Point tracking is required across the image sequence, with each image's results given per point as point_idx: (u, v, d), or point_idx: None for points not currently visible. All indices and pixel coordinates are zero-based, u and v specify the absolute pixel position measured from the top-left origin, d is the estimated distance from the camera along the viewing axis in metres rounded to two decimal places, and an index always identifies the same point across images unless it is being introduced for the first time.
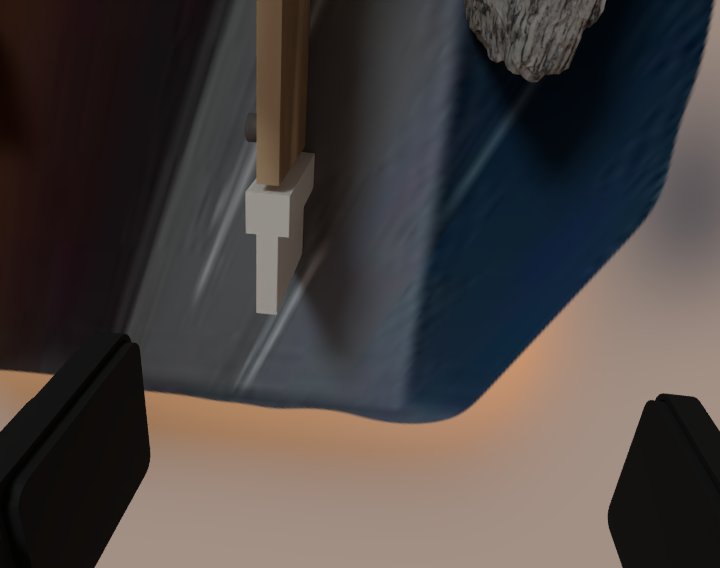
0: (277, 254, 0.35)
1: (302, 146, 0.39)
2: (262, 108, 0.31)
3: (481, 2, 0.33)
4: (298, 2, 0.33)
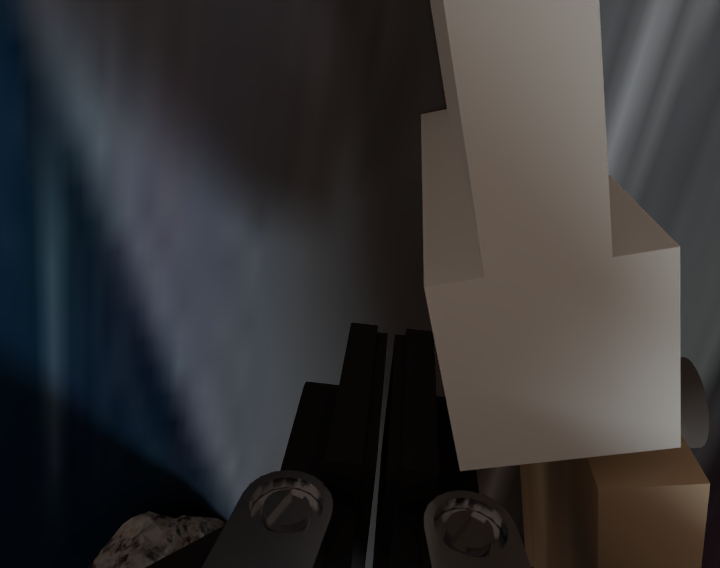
0: (469, 164, 0.06)
1: None
2: None
3: None
4: None
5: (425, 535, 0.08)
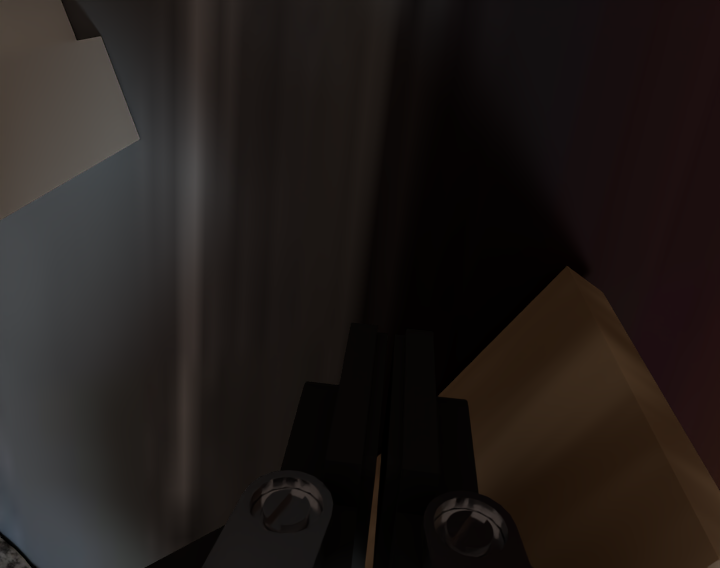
0: None
1: (569, 295, 0.14)
2: None
3: None
4: None
5: (425, 535, 0.08)
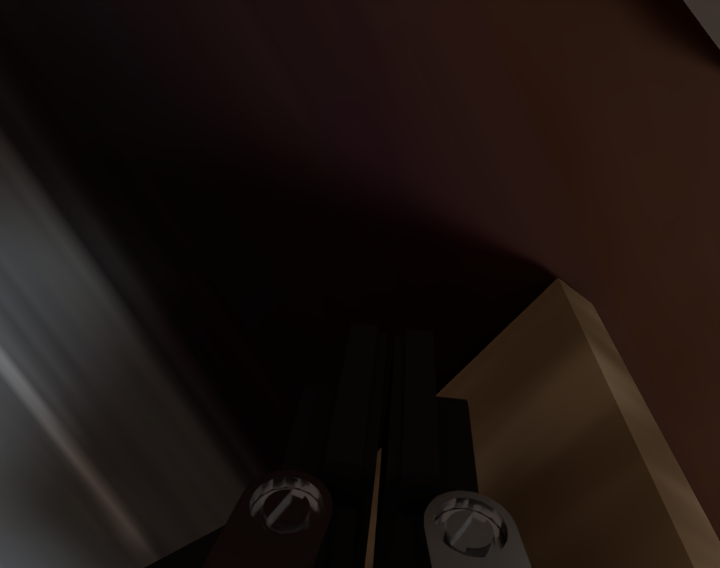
0: None
1: (559, 306, 0.15)
2: None
3: None
4: None
5: (425, 535, 0.08)
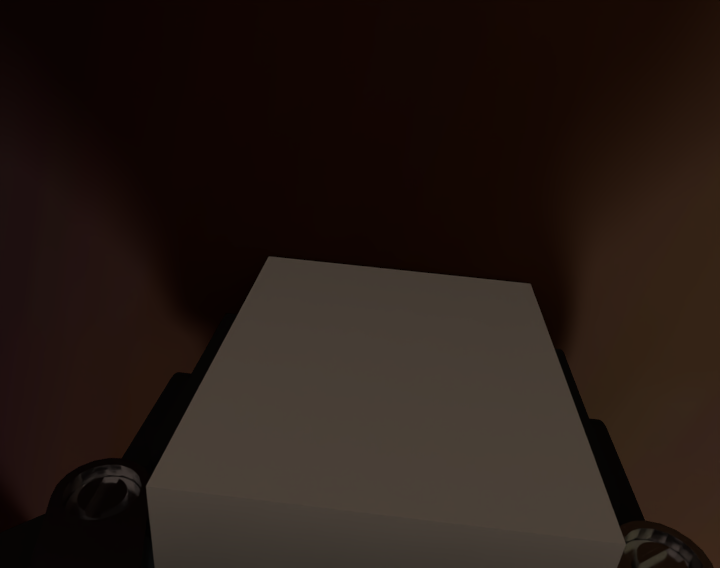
0: None
1: None
2: None
3: None
4: None
5: None
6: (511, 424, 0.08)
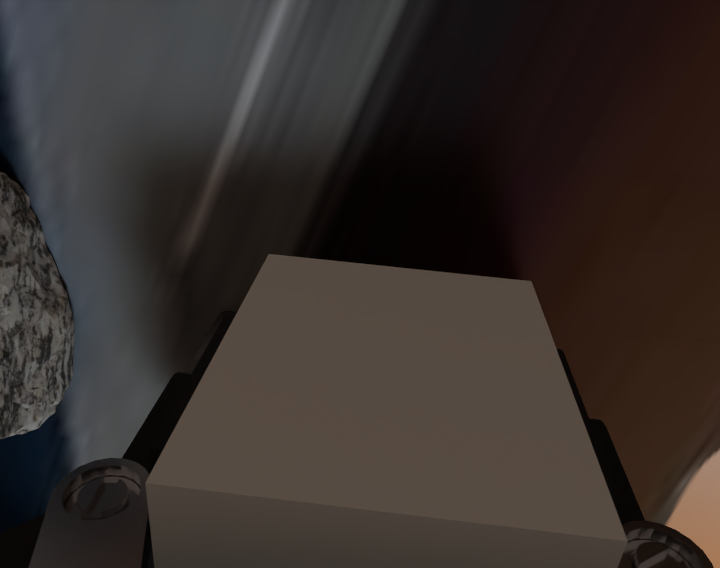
0: None
1: None
2: None
3: None
4: None
5: None
6: (512, 420, 0.08)
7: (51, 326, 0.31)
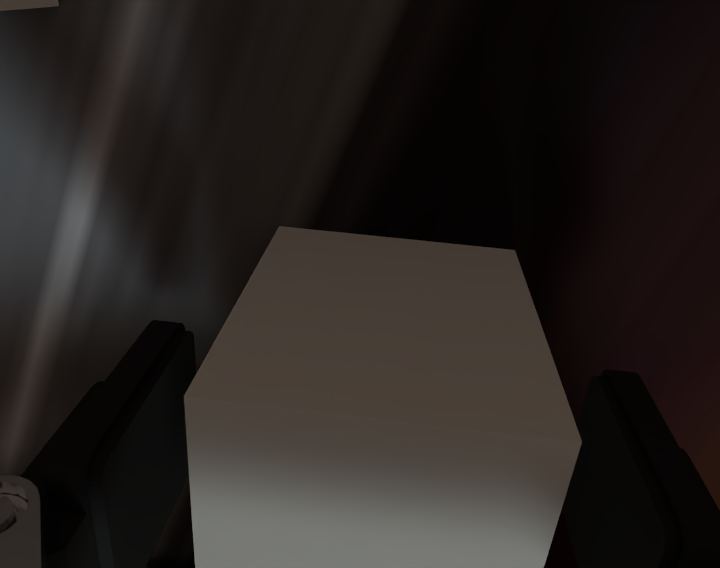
0: None
1: None
2: None
3: None
4: None
5: None
6: (491, 356, 0.09)
7: None
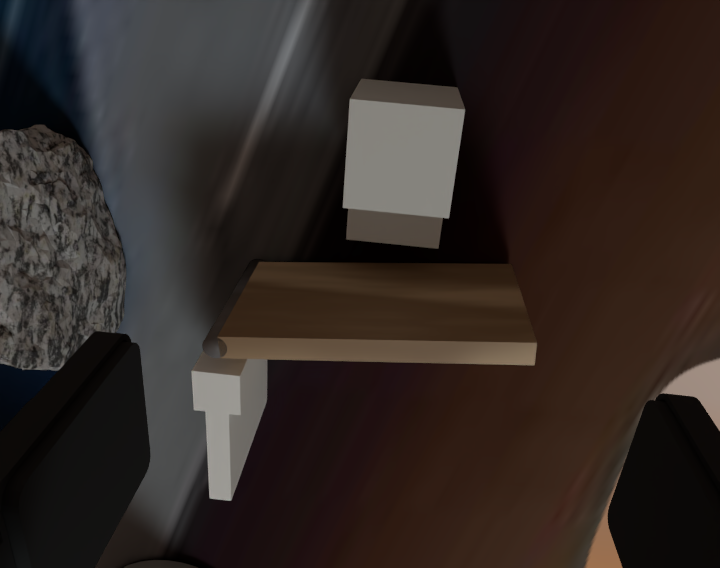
0: None
1: (509, 272, 0.35)
2: (447, 357, 0.29)
3: (48, 181, 0.32)
4: (353, 295, 0.33)
5: None
6: (442, 100, 0.28)
7: (109, 270, 0.36)
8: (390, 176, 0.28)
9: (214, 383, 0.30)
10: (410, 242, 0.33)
